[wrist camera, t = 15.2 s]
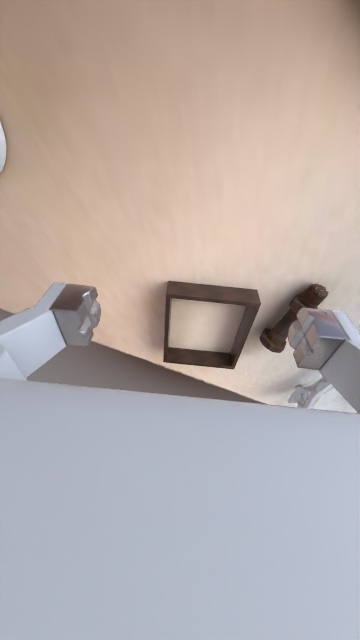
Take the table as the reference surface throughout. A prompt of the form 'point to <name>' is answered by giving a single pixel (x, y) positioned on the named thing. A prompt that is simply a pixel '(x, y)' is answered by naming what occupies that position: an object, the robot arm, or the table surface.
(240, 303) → the rectangular frame
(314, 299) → the bolt
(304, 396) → the wrench
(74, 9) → the table surface
